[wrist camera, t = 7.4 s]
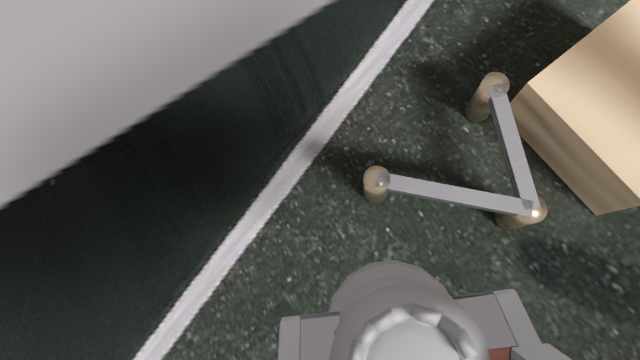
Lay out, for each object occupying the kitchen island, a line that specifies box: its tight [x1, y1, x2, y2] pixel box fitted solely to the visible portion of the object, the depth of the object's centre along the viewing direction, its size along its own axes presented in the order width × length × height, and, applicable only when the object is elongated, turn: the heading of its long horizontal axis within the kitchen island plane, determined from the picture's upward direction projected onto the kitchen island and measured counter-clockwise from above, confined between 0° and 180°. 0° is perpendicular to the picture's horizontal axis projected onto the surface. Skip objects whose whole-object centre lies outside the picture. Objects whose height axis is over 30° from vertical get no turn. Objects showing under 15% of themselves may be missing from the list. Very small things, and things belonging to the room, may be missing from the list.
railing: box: [363, 72, 547, 230], centre depth 26 cm, size 9×7×4 cm
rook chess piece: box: [329, 260, 490, 360], centre depth 13 cm, size 4×4×8 cm
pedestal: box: [510, 0, 640, 216], centre depth 26 cm, size 8×8×5 cm
